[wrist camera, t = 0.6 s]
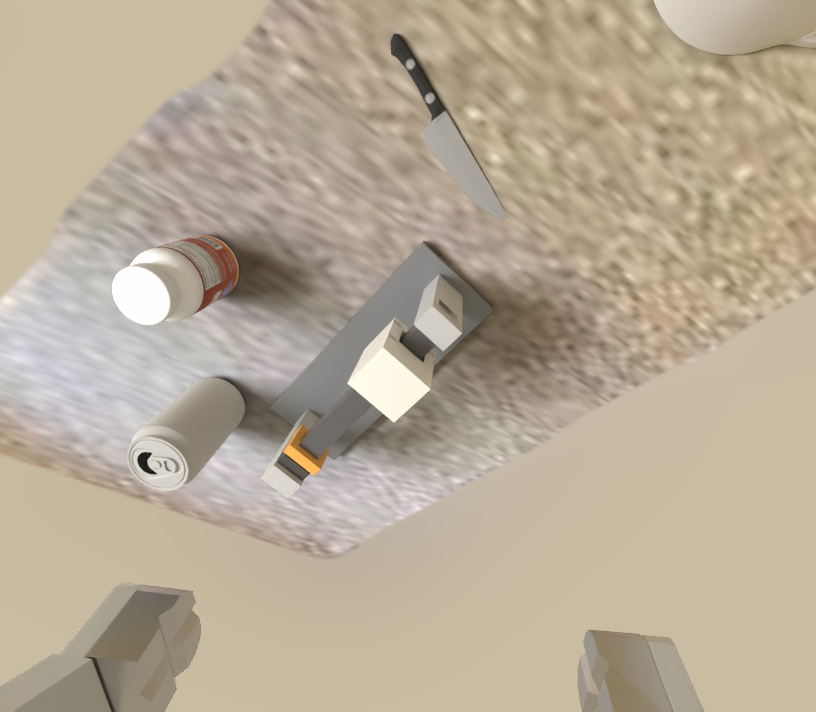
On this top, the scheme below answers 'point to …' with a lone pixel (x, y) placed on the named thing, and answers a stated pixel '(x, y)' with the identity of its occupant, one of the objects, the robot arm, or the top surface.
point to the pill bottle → (175, 280)
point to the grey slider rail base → (331, 370)
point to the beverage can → (185, 434)
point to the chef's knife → (449, 139)
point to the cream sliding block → (392, 373)
